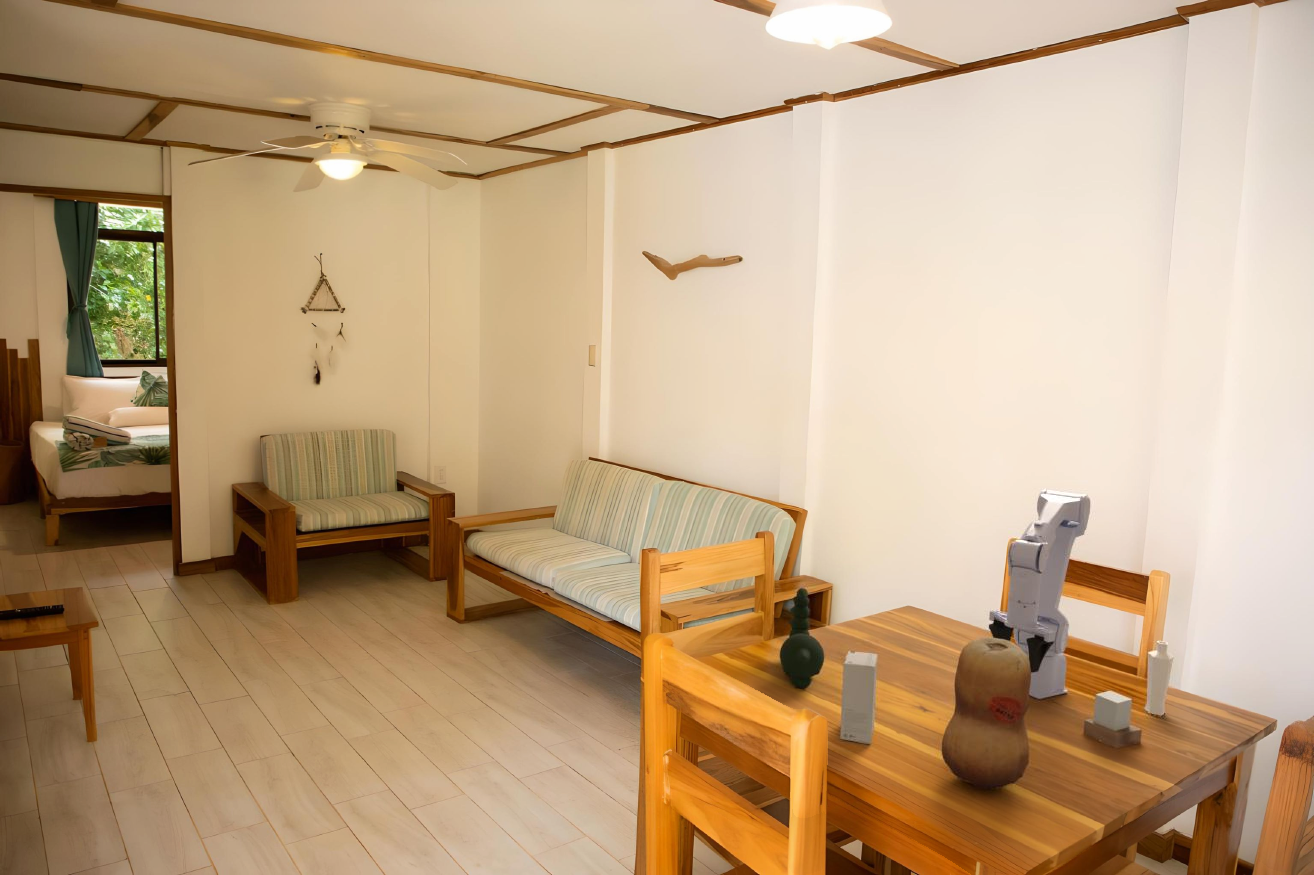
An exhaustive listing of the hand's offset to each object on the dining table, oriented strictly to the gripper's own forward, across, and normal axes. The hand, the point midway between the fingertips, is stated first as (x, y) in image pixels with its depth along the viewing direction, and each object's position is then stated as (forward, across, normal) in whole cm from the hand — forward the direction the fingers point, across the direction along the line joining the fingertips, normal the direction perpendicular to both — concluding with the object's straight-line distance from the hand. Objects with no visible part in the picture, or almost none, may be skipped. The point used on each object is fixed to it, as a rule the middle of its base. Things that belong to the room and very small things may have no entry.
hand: (1017, 664), depth 180 cm
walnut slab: (+10, +16, +8) cm, 21 cm away
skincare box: (+10, -5, -37) cm, 39 cm away
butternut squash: (+10, +19, -30) cm, 37 cm away
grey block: (+7, +16, +8) cm, 19 cm away
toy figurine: (+10, -33, -30) cm, 45 cm away
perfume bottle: (+10, +12, +28) cm, 32 cm away
